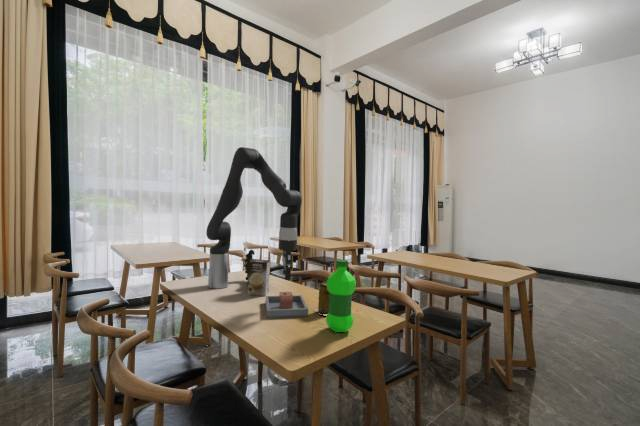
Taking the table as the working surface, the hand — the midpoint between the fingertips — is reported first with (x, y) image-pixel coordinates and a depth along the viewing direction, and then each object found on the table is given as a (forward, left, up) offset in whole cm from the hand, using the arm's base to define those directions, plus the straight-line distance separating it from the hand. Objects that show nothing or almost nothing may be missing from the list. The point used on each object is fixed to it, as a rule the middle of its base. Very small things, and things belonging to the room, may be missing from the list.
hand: (286, 276), depth 129 cm
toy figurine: (-12, +38, -14) cm, 42 cm away
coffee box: (-11, +23, -14) cm, 29 cm away
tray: (0, 0, -14) cm, 14 cm away
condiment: (+16, -6, -14) cm, 22 cm away
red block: (0, 0, -13) cm, 13 cm away
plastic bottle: (+17, -23, -14) cm, 32 cm away
